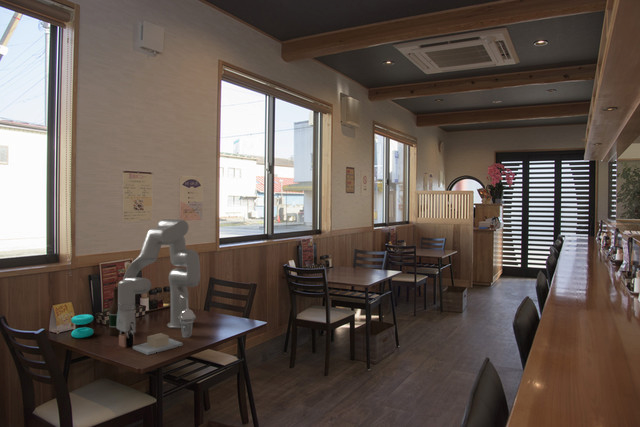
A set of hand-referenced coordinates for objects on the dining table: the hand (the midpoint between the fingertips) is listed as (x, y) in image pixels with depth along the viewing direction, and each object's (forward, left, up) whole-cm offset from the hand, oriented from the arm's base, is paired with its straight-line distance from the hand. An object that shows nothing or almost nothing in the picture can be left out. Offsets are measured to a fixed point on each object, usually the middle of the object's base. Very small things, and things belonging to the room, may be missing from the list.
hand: (126, 344), depth 216 cm
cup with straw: (-27, +9, -1) cm, 28 cm away
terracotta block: (0, 0, -1) cm, 1 cm away
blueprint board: (-8, +14, 0) cm, 16 cm away
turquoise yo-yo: (+7, -31, -1) cm, 32 cm away
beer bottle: (-6, -21, -1) cm, 22 cm away
